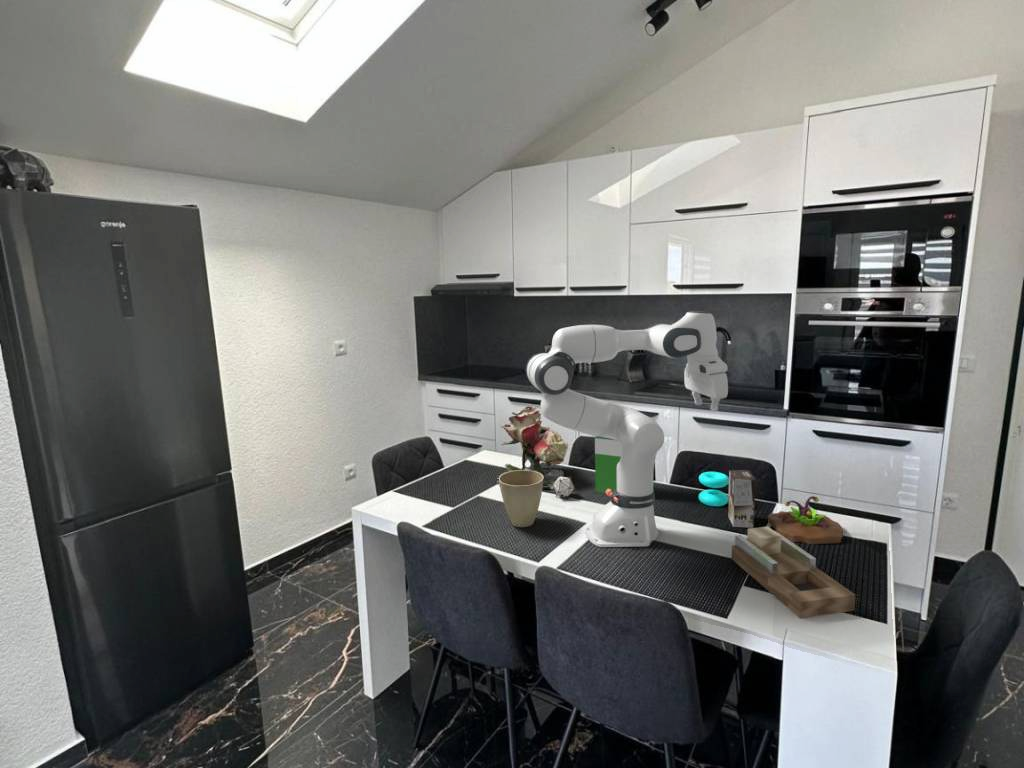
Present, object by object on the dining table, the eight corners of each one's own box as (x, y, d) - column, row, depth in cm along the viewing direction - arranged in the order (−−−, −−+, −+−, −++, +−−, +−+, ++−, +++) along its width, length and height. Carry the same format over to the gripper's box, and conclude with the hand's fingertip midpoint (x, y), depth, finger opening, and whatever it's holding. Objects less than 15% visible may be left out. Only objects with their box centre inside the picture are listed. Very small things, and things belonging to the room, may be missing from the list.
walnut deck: (799, 618, 124) (800, 602, 123) (731, 558, 151) (731, 545, 151) (854, 610, 126) (855, 594, 125) (776, 553, 153) (777, 540, 153)
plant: (855, 547, 156) (857, 510, 154) (783, 544, 159) (784, 508, 157) (826, 518, 176) (829, 485, 174) (763, 516, 179) (764, 484, 177)
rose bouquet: (564, 491, 207) (563, 415, 202) (492, 486, 215) (489, 413, 210) (575, 469, 231) (574, 401, 226) (510, 466, 239) (508, 400, 234)
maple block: (760, 555, 144) (760, 538, 144) (747, 545, 150) (747, 528, 149) (780, 553, 145) (781, 535, 144) (766, 543, 151) (767, 526, 150)
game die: (568, 505, 203) (584, 484, 201) (558, 505, 196) (575, 483, 194) (552, 489, 208) (568, 469, 206) (542, 488, 200) (558, 467, 199)
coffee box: (754, 528, 170) (756, 479, 167) (732, 527, 171) (734, 478, 168) (747, 516, 178) (749, 469, 176) (727, 515, 180) (728, 469, 177)
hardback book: (595, 491, 206) (594, 430, 202) (602, 485, 212) (601, 425, 208) (641, 498, 197) (641, 434, 193) (646, 491, 203) (647, 430, 199)
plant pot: (493, 519, 183) (490, 475, 181) (531, 510, 190) (529, 467, 187) (513, 536, 170) (511, 488, 168) (553, 525, 177) (552, 479, 174)
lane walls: (771, 575, 135) (772, 563, 134) (735, 545, 151) (735, 535, 150) (815, 569, 136) (816, 558, 136) (774, 540, 153) (774, 530, 152)
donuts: (727, 471, 193) (730, 481, 183) (727, 497, 195) (729, 508, 185) (698, 469, 196) (699, 479, 186) (697, 495, 197) (699, 506, 188)
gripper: (677, 361, 173) (681, 402, 176) (710, 369, 153) (713, 416, 156) (696, 358, 174) (699, 399, 177) (730, 366, 154) (733, 412, 157)
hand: (706, 407), depth 166 cm, fingers open, 8 cm apart
